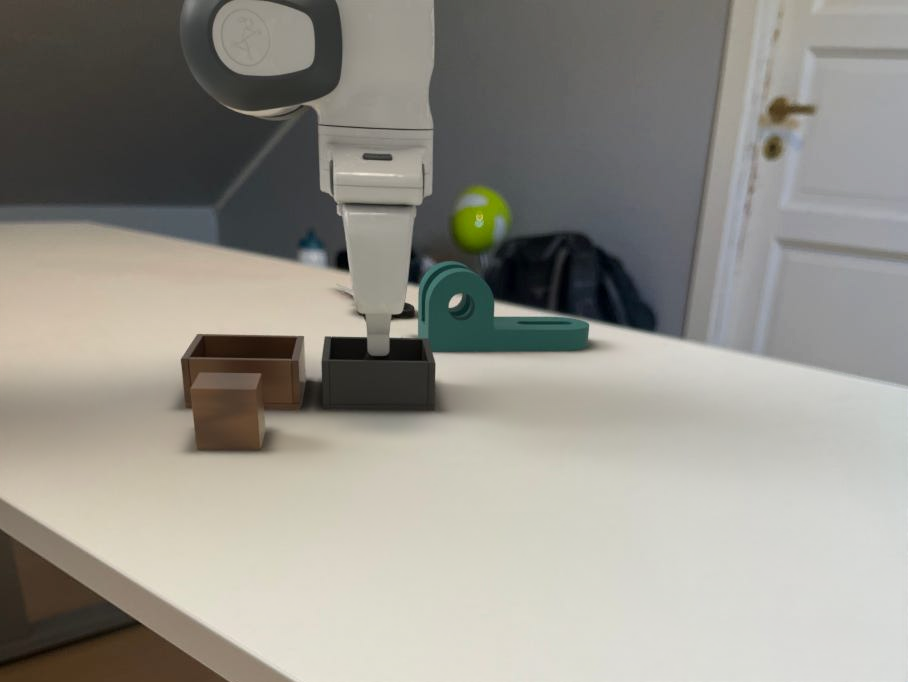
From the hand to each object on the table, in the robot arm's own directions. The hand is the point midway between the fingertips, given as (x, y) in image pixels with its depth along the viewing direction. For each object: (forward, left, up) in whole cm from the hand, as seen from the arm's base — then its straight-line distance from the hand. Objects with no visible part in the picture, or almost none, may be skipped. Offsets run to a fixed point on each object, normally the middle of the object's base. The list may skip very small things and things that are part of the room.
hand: (377, 349), depth 83 cm
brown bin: (-11, 0, -4) cm, 12 cm away
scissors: (-1, +42, -4) cm, 42 cm away
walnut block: (-11, -13, -4) cm, 17 cm away
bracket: (+14, +21, -4) cm, 25 cm away
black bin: (0, 0, -4) cm, 4 cm away
